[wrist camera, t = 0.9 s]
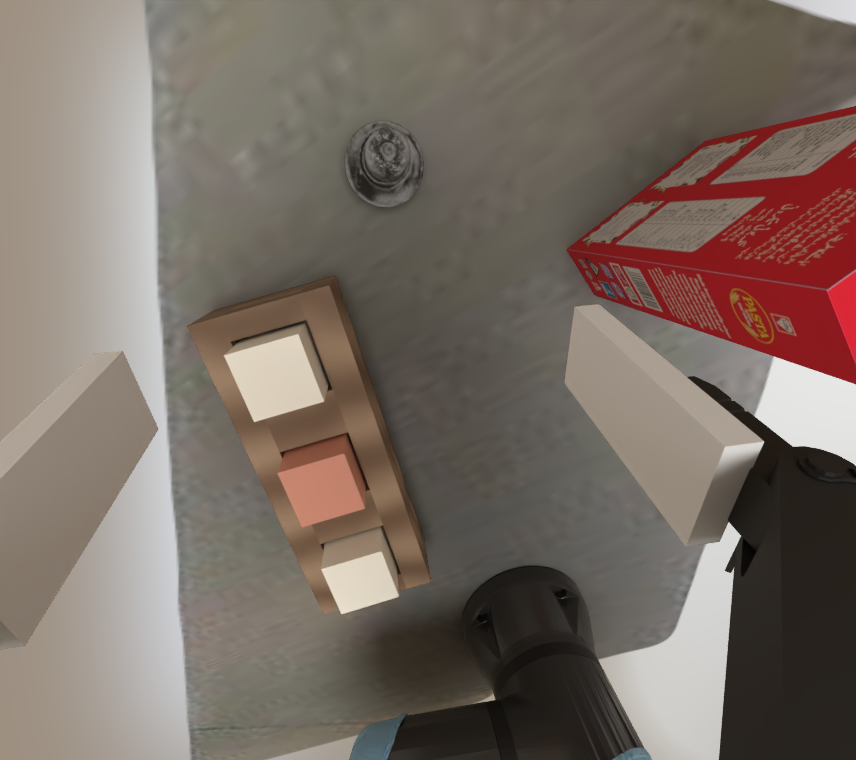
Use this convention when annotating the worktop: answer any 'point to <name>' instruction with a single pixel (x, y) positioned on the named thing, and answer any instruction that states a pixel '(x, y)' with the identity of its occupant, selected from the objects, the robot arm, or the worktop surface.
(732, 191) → the food packaging
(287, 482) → the middle button
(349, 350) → the mount
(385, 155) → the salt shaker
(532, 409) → the worktop surface
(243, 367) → the near button
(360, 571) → the far button
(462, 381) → the worktop surface
